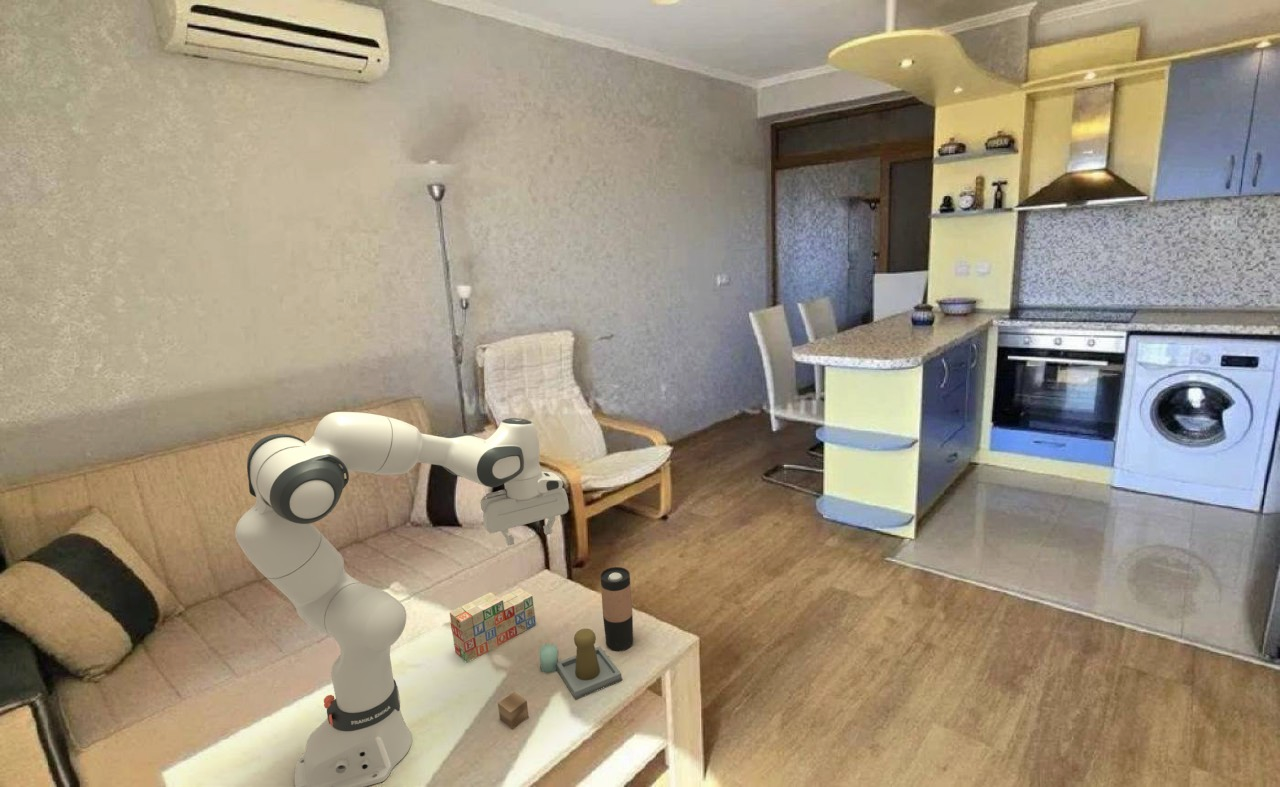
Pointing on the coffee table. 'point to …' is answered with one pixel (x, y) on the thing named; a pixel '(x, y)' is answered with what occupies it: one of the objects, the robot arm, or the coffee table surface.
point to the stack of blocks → (490, 622)
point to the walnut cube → (513, 710)
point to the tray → (585, 687)
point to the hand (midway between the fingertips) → (529, 538)
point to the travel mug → (617, 608)
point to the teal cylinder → (548, 658)
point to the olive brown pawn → (586, 655)
